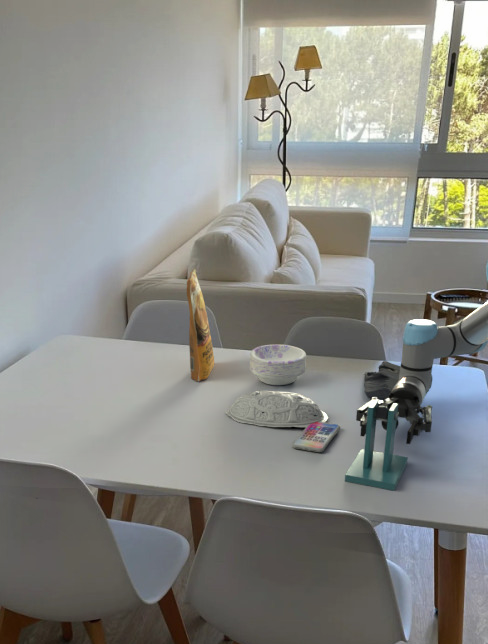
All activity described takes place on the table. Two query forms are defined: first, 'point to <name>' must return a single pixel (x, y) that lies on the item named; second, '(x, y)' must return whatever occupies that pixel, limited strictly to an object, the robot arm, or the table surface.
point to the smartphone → (316, 436)
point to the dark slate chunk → (381, 381)
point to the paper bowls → (277, 363)
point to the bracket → (378, 455)
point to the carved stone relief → (276, 409)
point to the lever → (383, 416)
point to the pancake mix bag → (199, 332)
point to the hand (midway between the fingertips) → (385, 434)
